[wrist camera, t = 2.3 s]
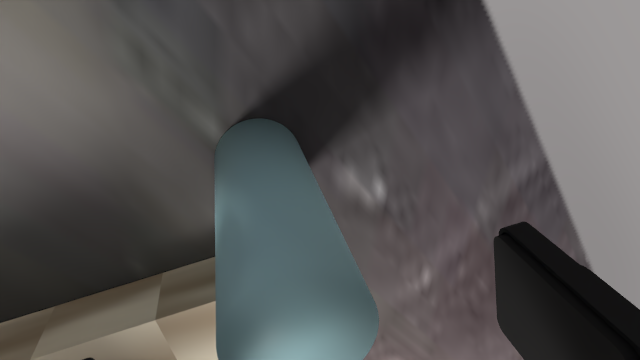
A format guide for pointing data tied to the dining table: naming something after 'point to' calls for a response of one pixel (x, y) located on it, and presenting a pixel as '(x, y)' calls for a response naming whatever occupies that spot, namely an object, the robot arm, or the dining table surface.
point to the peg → (282, 256)
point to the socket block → (125, 322)
